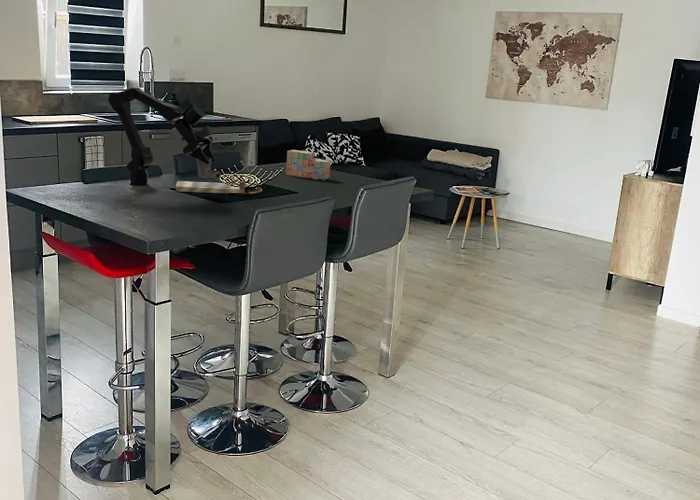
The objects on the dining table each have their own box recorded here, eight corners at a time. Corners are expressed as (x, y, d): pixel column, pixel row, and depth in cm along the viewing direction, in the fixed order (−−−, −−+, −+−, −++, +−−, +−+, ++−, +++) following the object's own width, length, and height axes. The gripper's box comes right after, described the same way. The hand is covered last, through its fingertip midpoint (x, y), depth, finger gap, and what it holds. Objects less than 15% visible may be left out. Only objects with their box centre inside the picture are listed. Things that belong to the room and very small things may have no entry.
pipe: (212, 182, 279) (212, 163, 276) (192, 176, 286) (191, 157, 283) (224, 180, 283) (224, 161, 280) (203, 173, 291) (203, 155, 288)
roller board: (175, 191, 286) (176, 179, 284) (177, 185, 297) (177, 174, 296) (244, 194, 292) (244, 182, 290) (243, 188, 303) (243, 177, 301)
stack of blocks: (329, 179, 345) (331, 154, 341) (324, 180, 339) (326, 155, 336) (291, 173, 352) (292, 149, 349) (285, 174, 347) (287, 150, 343)
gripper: (191, 121, 271) (216, 153, 272) (209, 118, 288) (233, 147, 290) (171, 139, 274) (197, 170, 275) (191, 134, 292) (214, 164, 293)
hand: (211, 162), depth 283 cm, fingers closed on pipe, 6 cm apart
